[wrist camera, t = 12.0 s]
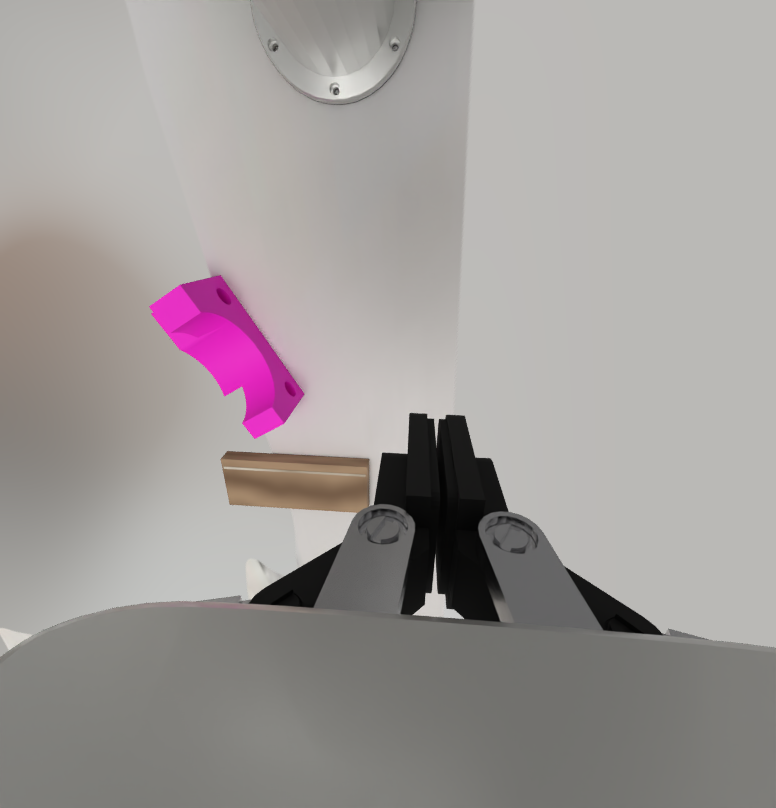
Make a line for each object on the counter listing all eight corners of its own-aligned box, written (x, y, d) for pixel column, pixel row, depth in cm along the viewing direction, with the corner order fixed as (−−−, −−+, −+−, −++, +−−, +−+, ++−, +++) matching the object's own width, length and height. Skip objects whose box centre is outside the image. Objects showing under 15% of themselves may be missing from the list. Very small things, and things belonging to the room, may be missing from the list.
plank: (227, 451, 48) (220, 459, 46) (368, 458, 47) (367, 467, 45) (235, 495, 51) (229, 504, 49) (369, 503, 50) (367, 513, 48)
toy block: (177, 305, 40) (129, 320, 34) (221, 275, 39) (179, 284, 32) (262, 415, 45) (235, 448, 39) (304, 393, 44) (284, 423, 37)
